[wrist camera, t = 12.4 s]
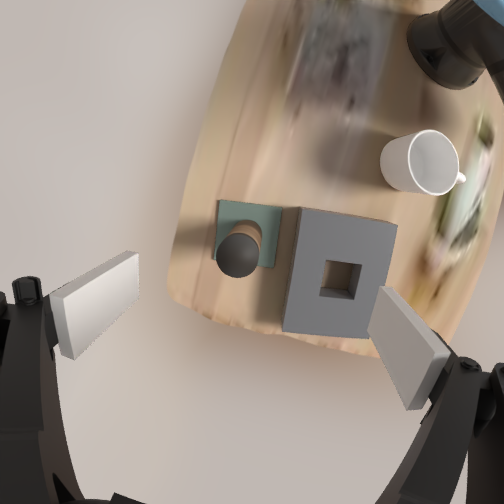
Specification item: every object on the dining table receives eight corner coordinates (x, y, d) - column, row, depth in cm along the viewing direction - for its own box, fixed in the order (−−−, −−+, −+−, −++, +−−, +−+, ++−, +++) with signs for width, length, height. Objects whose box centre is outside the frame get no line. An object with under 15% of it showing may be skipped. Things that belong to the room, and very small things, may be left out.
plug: (233, 217, 42) (217, 233, 29) (264, 221, 42) (261, 239, 29) (230, 247, 43) (214, 274, 30) (260, 251, 43) (255, 280, 30)
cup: (383, 131, 38) (412, 119, 28) (444, 156, 38) (481, 153, 28) (373, 182, 40) (401, 184, 30) (435, 204, 40) (471, 211, 30)
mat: (220, 199, 42) (219, 199, 41) (281, 207, 42) (282, 207, 41) (214, 259, 44) (213, 259, 44) (273, 267, 44) (273, 267, 43)
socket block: (299, 206, 41) (302, 209, 37) (387, 221, 41) (397, 225, 37) (281, 319, 46) (281, 331, 42) (362, 327, 45) (368, 339, 41)
